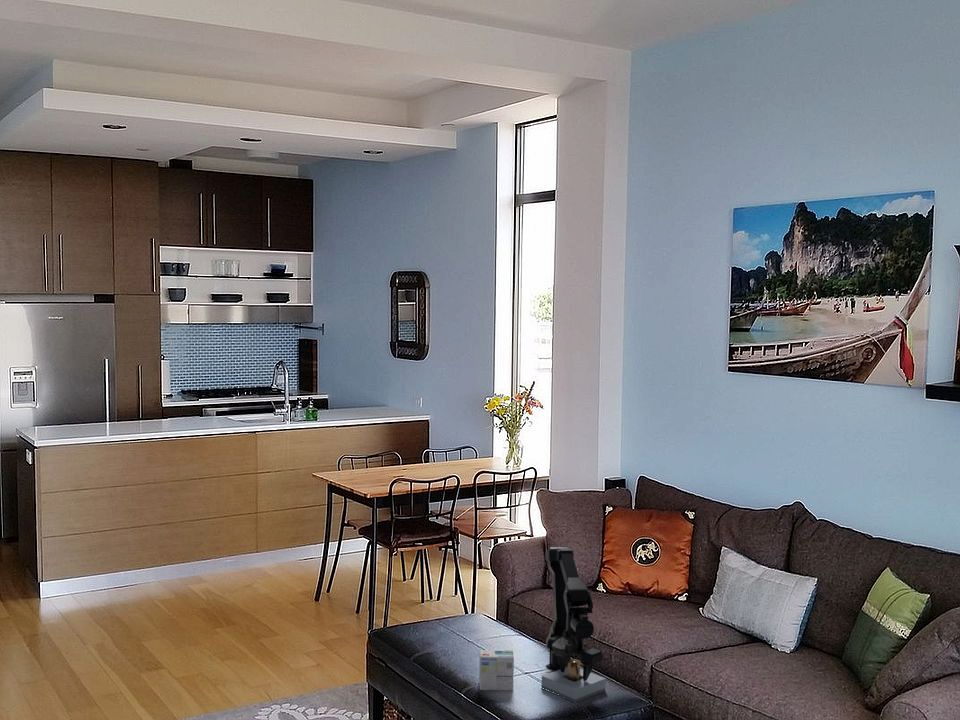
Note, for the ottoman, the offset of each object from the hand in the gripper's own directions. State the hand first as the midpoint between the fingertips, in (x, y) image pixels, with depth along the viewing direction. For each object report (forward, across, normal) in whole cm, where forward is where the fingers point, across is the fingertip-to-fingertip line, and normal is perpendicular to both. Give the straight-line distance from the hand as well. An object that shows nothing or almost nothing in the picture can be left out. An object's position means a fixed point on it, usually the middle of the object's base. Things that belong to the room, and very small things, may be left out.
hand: (573, 676), depth 320 cm
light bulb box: (+4, -17, -17) cm, 24 cm away
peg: (+3, 0, 0) cm, 3 cm away
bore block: (+4, 0, 0) cm, 4 cm away
